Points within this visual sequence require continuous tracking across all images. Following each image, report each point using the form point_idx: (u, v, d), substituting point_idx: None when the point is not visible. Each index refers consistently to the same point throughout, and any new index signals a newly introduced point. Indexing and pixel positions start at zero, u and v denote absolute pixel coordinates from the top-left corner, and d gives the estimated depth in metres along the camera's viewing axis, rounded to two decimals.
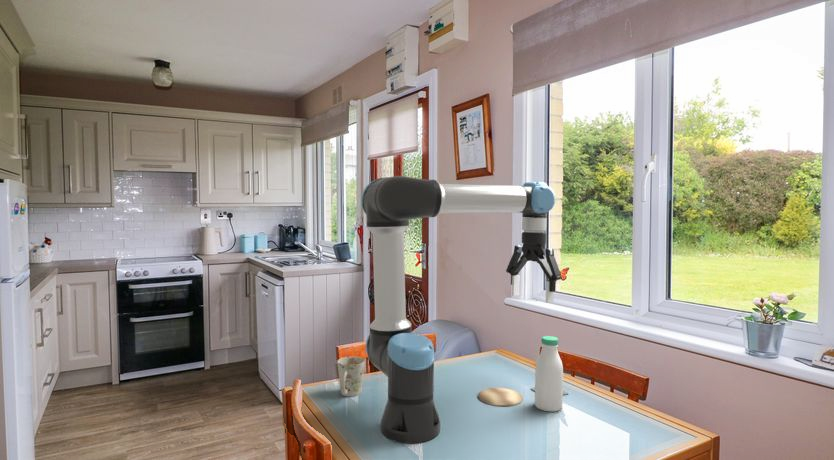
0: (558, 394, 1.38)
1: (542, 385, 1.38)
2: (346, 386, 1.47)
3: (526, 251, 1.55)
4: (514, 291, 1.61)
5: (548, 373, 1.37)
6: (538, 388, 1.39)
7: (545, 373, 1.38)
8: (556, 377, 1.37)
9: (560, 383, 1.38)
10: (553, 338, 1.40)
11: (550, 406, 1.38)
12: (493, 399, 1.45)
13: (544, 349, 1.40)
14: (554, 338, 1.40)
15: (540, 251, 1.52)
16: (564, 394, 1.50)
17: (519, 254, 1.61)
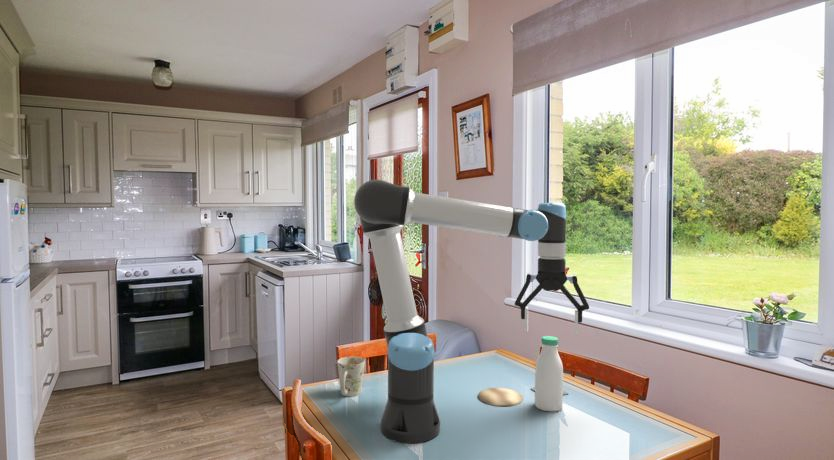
0: (558, 394, 1.38)
1: (542, 385, 1.38)
2: (346, 386, 1.47)
3: (547, 280, 1.38)
4: (527, 326, 1.41)
5: (548, 373, 1.37)
6: (538, 388, 1.39)
7: (545, 373, 1.38)
8: (556, 377, 1.37)
9: (560, 383, 1.38)
10: (553, 338, 1.40)
11: (550, 406, 1.38)
12: (493, 399, 1.45)
13: (544, 349, 1.40)
14: (554, 338, 1.40)
15: (564, 279, 1.38)
16: (564, 394, 1.50)
17: None
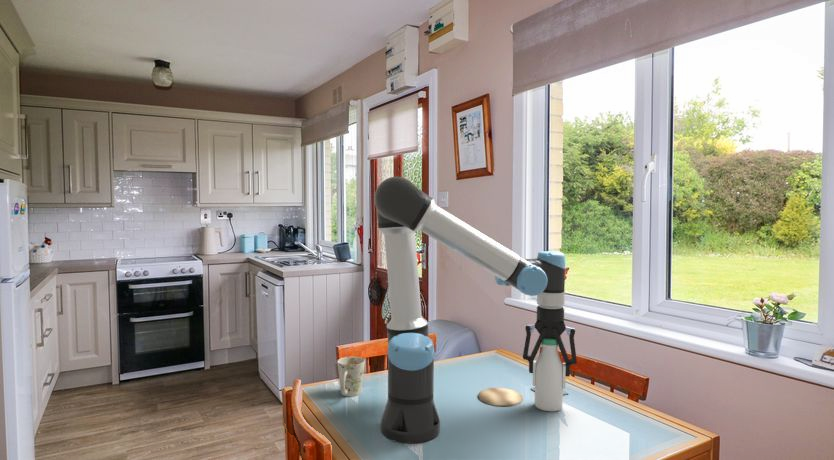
0: (558, 394, 1.38)
1: (542, 385, 1.38)
2: (346, 386, 1.47)
3: (545, 329, 1.39)
4: None
5: (548, 373, 1.37)
6: (538, 388, 1.39)
7: (545, 373, 1.38)
8: (556, 377, 1.37)
9: (560, 383, 1.38)
10: None
11: (550, 406, 1.38)
12: (493, 399, 1.45)
13: (544, 349, 1.40)
14: None
15: (563, 329, 1.38)
16: (564, 394, 1.50)
17: None
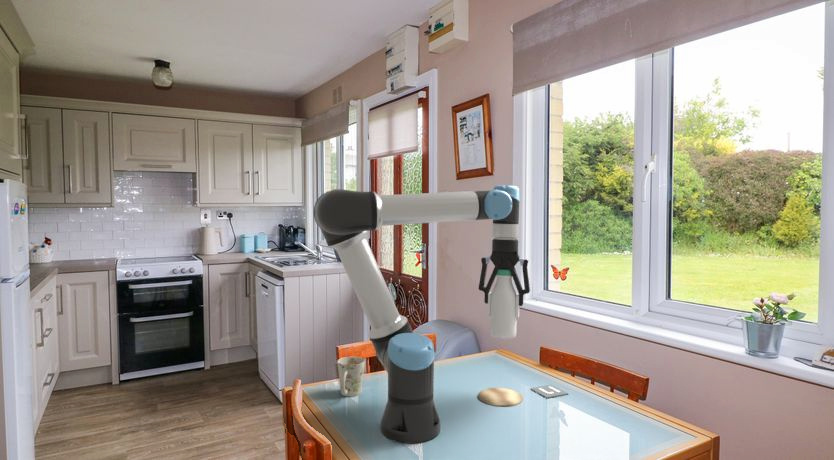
0: (511, 322, 1.43)
1: (496, 314, 1.44)
2: (346, 386, 1.47)
3: (499, 260, 1.44)
4: (490, 310, 1.46)
5: (501, 302, 1.42)
6: (492, 317, 1.45)
7: (498, 302, 1.43)
8: (509, 306, 1.42)
9: (513, 312, 1.43)
10: None
11: (503, 333, 1.43)
12: (493, 399, 1.45)
13: (498, 280, 1.45)
14: None
15: (516, 260, 1.43)
16: (564, 394, 1.50)
17: (486, 266, 1.48)
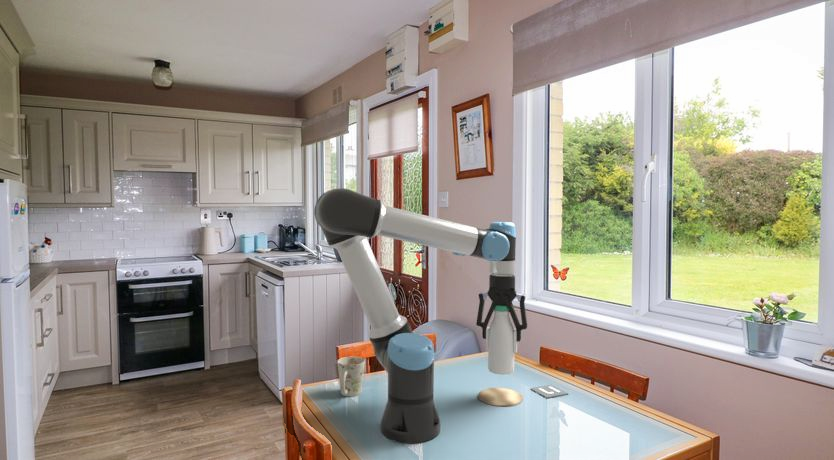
0: (509, 358, 1.44)
1: (494, 350, 1.44)
2: (346, 386, 1.47)
3: (497, 296, 1.45)
4: None
5: (499, 338, 1.43)
6: (490, 352, 1.46)
7: (496, 338, 1.44)
8: (507, 342, 1.43)
9: (511, 347, 1.44)
10: None
11: (501, 369, 1.44)
12: (493, 399, 1.45)
13: (496, 315, 1.46)
14: None
15: (513, 296, 1.44)
16: (564, 394, 1.50)
17: (484, 301, 1.48)
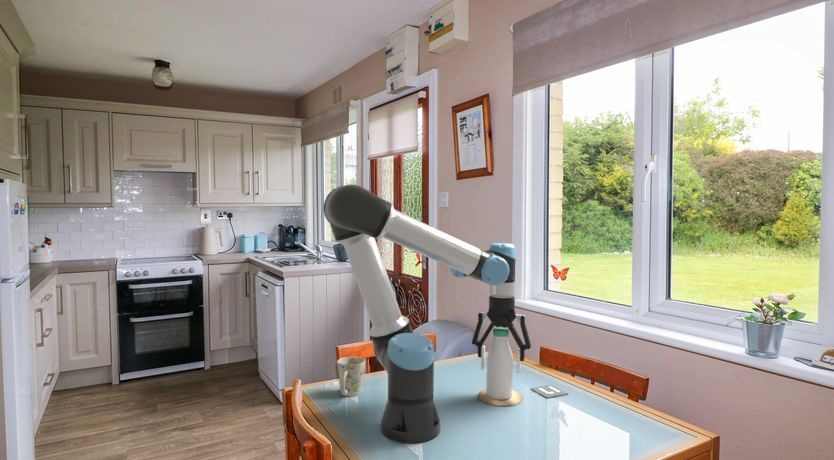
0: (508, 383, 1.45)
1: (492, 375, 1.45)
2: (346, 386, 1.47)
3: (496, 317, 1.45)
4: (483, 364, 1.48)
5: (498, 363, 1.44)
6: (489, 377, 1.46)
7: (495, 363, 1.44)
8: (506, 367, 1.44)
9: (509, 372, 1.45)
10: (504, 330, 1.46)
11: (499, 394, 1.44)
12: (493, 399, 1.45)
13: (495, 340, 1.46)
14: (505, 330, 1.46)
15: (513, 317, 1.45)
16: (564, 394, 1.50)
17: (482, 321, 1.49)
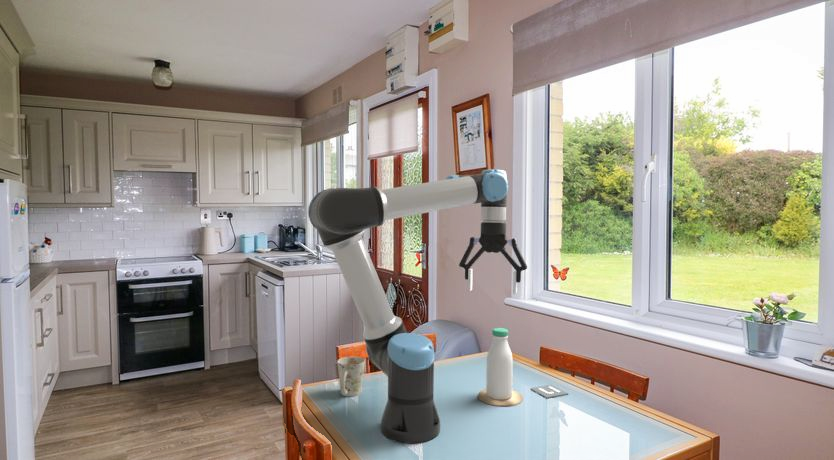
0: (508, 383, 1.45)
1: (492, 375, 1.45)
2: (346, 386, 1.47)
3: (488, 242, 1.47)
4: (470, 286, 1.51)
5: (498, 363, 1.44)
6: (489, 377, 1.46)
7: (495, 363, 1.44)
8: (505, 367, 1.44)
9: (509, 373, 1.45)
10: (503, 330, 1.46)
11: (499, 394, 1.44)
12: (493, 399, 1.45)
13: (494, 340, 1.46)
14: (504, 330, 1.46)
15: (504, 242, 1.47)
16: (564, 394, 1.50)
17: (473, 246, 1.51)
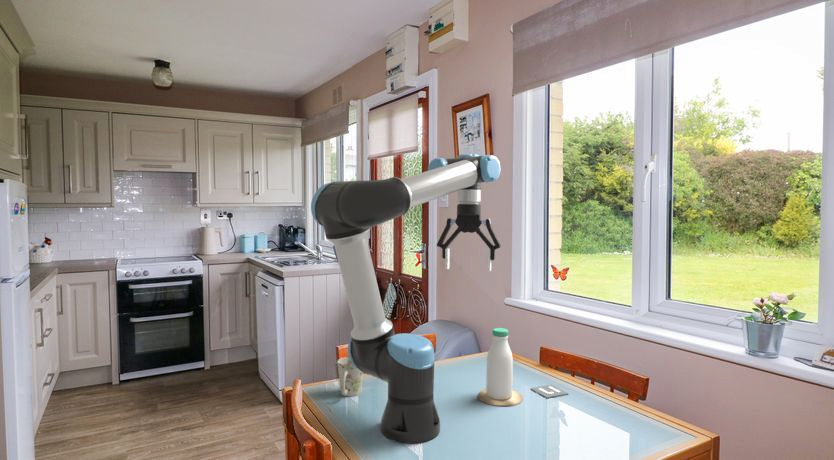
0: (508, 383, 1.45)
1: (492, 375, 1.45)
2: (346, 386, 1.47)
3: (463, 223, 1.56)
4: (447, 264, 1.59)
5: (498, 363, 1.44)
6: (489, 377, 1.46)
7: (495, 363, 1.44)
8: (505, 367, 1.44)
9: (509, 373, 1.45)
10: (503, 330, 1.46)
11: (499, 395, 1.44)
12: (493, 399, 1.45)
13: (494, 340, 1.46)
14: (504, 330, 1.46)
15: (479, 222, 1.56)
16: (564, 394, 1.50)
17: (450, 227, 1.60)
